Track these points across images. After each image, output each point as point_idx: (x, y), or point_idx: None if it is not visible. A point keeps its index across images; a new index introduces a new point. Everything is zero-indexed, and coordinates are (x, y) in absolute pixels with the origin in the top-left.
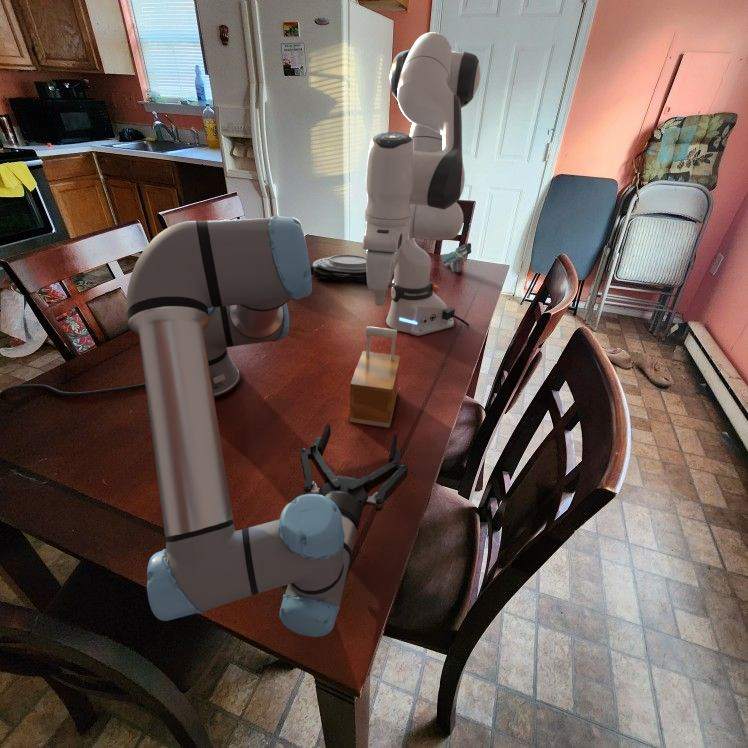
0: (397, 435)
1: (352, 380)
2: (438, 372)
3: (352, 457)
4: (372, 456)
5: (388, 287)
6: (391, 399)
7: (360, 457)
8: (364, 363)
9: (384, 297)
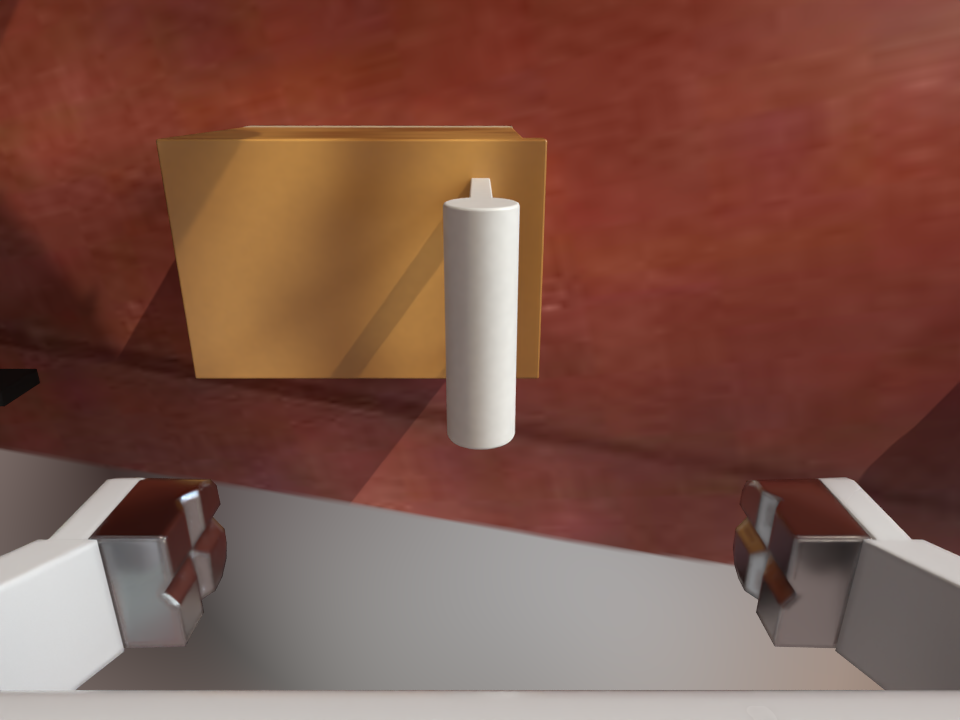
0: (3, 405)
1: (191, 145)
2: (701, 458)
3: (52, 186)
4: (91, 262)
5: (733, 545)
6: None
7: (66, 218)
8: (398, 181)
9: (110, 644)
